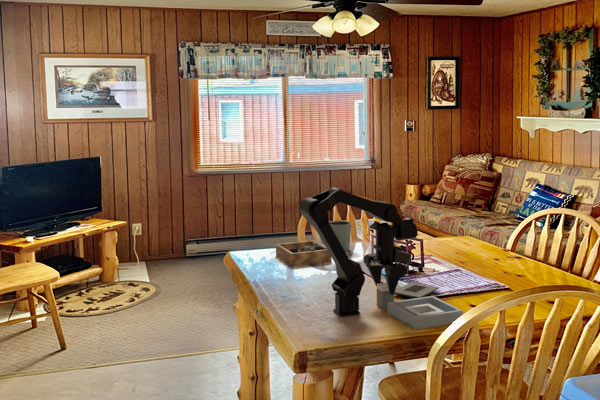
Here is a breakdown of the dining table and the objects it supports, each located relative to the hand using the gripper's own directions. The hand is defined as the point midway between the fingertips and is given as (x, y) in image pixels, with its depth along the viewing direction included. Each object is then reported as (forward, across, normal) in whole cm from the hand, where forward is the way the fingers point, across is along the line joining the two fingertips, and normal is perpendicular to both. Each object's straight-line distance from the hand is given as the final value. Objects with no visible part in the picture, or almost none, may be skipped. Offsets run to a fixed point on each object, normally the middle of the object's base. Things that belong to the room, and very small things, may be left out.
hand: (385, 290), depth 214 cm
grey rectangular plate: (+6, +7, -15) cm, 18 cm away
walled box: (+5, -15, -5) cm, 17 cm away
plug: (+5, 0, 0) cm, 5 cm away
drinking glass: (+5, +77, -19) cm, 80 cm away
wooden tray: (+5, +69, +1) cm, 69 cm away
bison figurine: (+5, +68, 0) cm, 68 cm away
